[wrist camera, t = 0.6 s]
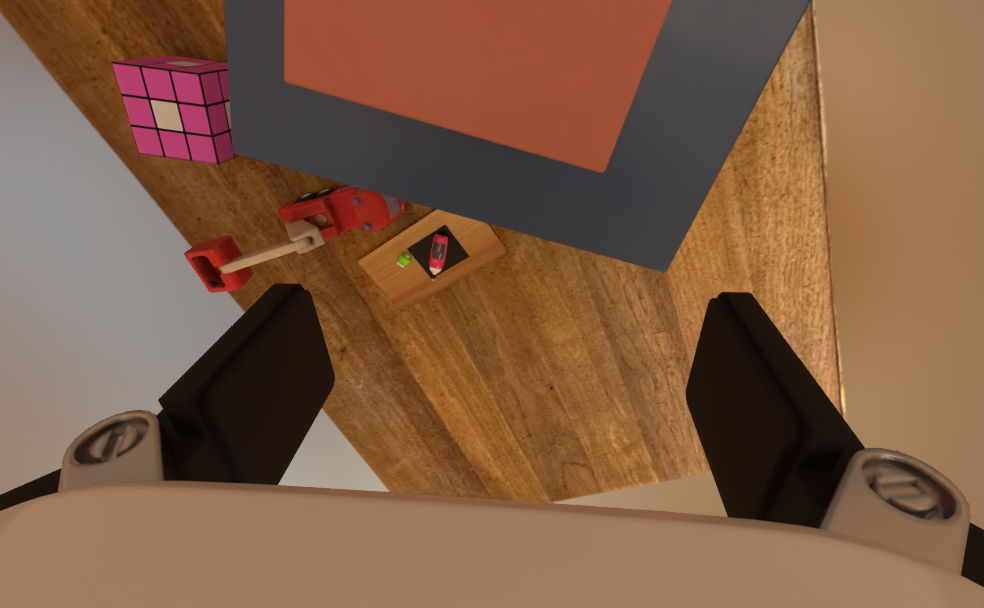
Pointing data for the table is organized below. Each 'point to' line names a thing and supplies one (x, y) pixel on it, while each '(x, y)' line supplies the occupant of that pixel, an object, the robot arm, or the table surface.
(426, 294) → the board
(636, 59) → the toy block
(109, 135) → the table surface
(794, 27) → the shelf
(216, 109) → the puzzle toy
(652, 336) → the table surface
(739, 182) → the table surface
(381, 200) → the toy fire truck
